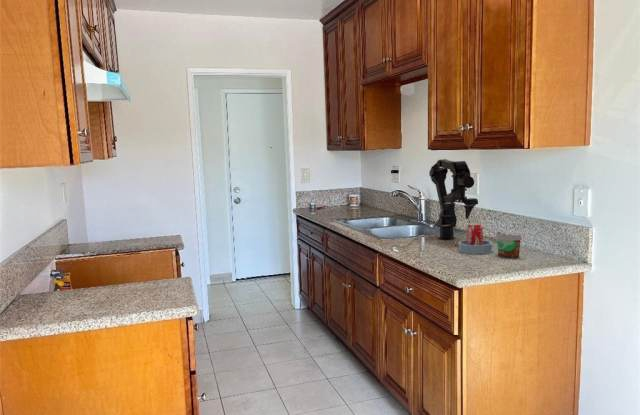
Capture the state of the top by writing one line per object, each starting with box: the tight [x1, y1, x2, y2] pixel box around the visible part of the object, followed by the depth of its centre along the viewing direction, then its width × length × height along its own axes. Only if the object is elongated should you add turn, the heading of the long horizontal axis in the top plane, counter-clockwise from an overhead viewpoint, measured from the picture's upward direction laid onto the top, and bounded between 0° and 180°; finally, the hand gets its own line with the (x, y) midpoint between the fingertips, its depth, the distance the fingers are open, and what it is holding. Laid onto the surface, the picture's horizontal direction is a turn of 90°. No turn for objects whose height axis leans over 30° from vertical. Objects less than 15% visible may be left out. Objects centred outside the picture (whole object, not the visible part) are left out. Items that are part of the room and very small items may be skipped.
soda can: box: [466, 222, 484, 245], centre depth 227 cm, size 7×7×12 cm
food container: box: [494, 231, 523, 259], centre depth 214 cm, size 12×6×10 cm, turn 27°
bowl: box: [457, 239, 493, 256], centre depth 227 cm, size 15×15×4 cm
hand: (459, 218), depth 243 cm, fingers open, 9 cm apart
